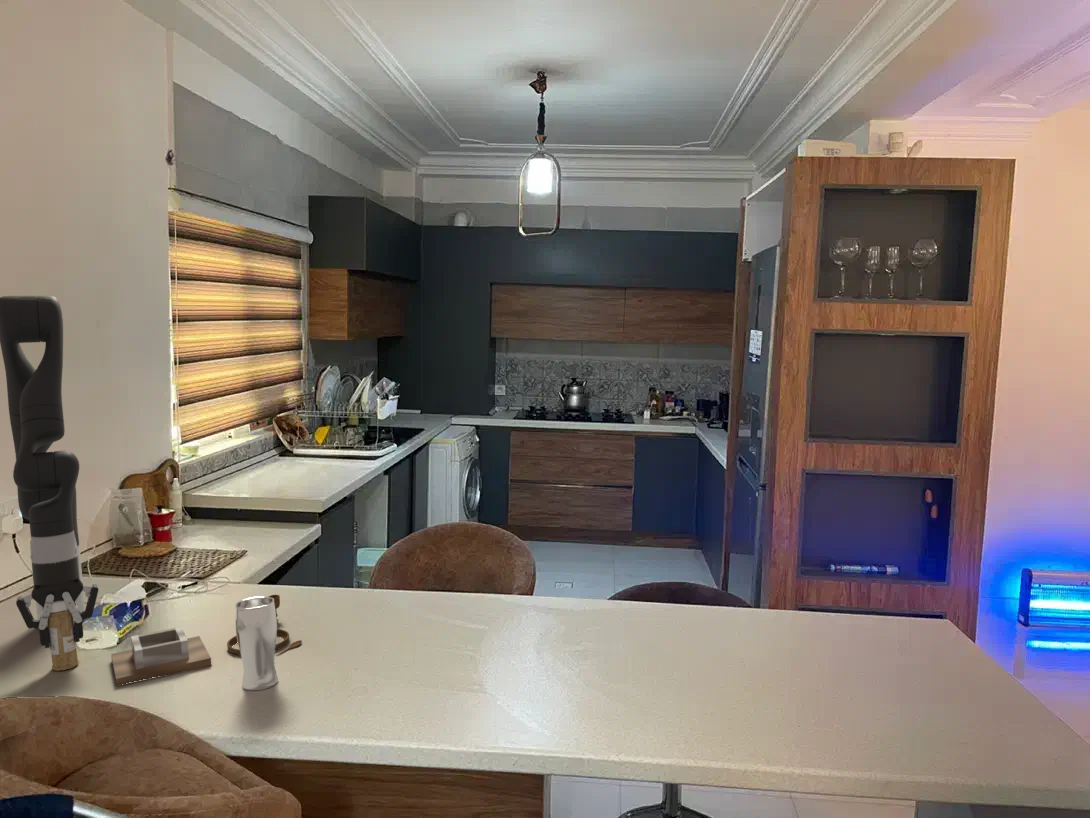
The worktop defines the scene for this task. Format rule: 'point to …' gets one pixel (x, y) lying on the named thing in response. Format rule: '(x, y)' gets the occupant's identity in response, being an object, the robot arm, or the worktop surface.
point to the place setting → (280, 633)
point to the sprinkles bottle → (62, 637)
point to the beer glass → (257, 641)
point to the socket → (159, 656)
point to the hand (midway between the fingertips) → (62, 643)
